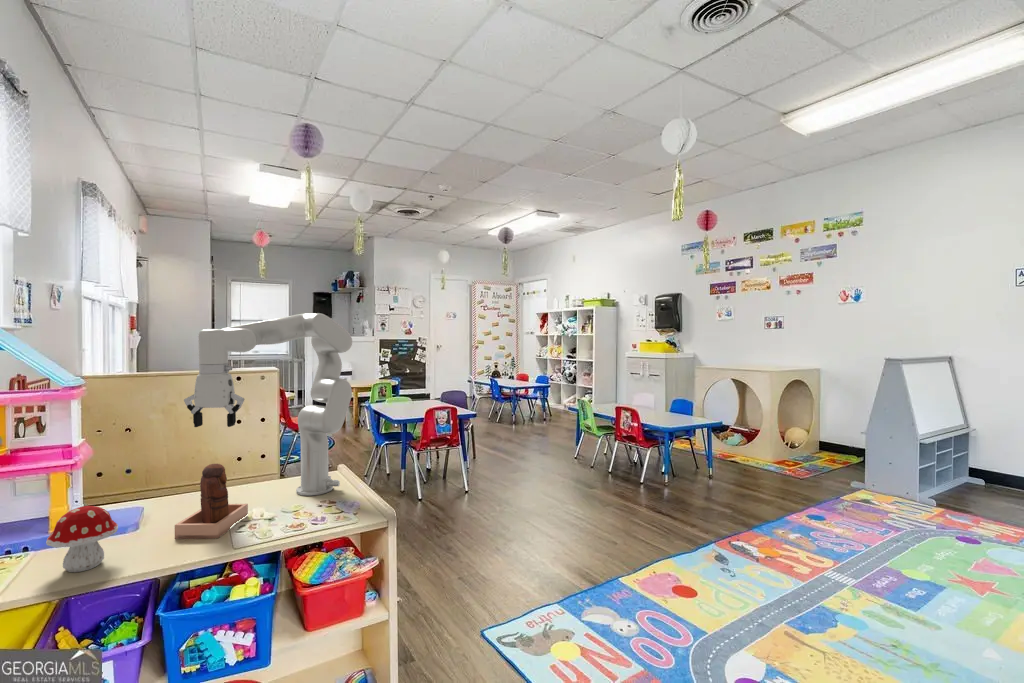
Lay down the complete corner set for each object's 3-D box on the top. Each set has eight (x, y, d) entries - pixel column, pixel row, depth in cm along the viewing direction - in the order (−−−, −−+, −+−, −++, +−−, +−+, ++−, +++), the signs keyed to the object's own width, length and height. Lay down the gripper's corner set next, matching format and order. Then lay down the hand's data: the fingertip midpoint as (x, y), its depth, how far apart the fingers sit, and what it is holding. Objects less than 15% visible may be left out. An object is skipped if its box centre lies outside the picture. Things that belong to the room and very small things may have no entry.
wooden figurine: (233, 525, 147) (232, 465, 147) (208, 531, 142) (208, 469, 142) (220, 515, 155) (220, 458, 155) (197, 520, 151) (197, 462, 150)
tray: (247, 516, 157) (247, 503, 157) (217, 538, 140) (217, 524, 140) (209, 516, 157) (209, 503, 157) (174, 539, 140) (174, 525, 140)
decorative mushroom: (60, 559, 127) (59, 502, 127) (126, 550, 133) (126, 494, 132) (34, 585, 114) (33, 521, 114) (109, 573, 120) (108, 512, 120)
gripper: (249, 368, 153) (250, 423, 154) (191, 369, 152) (193, 424, 153) (236, 370, 146) (237, 428, 146) (176, 371, 145) (177, 429, 145)
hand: (214, 426), depth 149 cm, fingers open, 9 cm apart
